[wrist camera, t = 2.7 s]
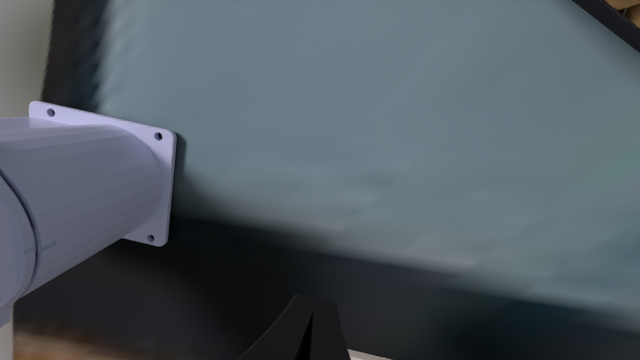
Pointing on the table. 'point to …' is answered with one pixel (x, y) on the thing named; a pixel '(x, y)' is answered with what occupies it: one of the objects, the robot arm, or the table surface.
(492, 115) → the table surface
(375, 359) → the mat
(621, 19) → the ammunition clip
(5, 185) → the robot arm
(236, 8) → the table surface
